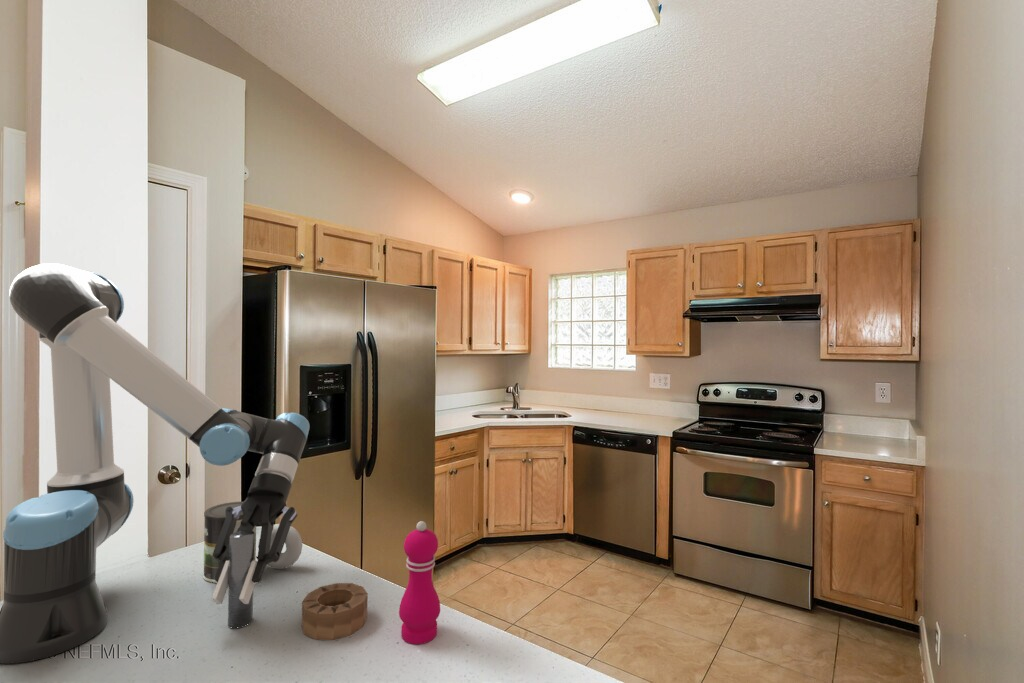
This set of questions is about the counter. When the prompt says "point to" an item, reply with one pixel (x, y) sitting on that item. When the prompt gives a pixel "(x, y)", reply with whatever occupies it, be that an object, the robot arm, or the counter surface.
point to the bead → (334, 611)
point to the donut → (287, 548)
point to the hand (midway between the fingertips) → (230, 601)
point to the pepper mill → (420, 588)
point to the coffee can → (217, 536)
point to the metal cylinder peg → (239, 577)
